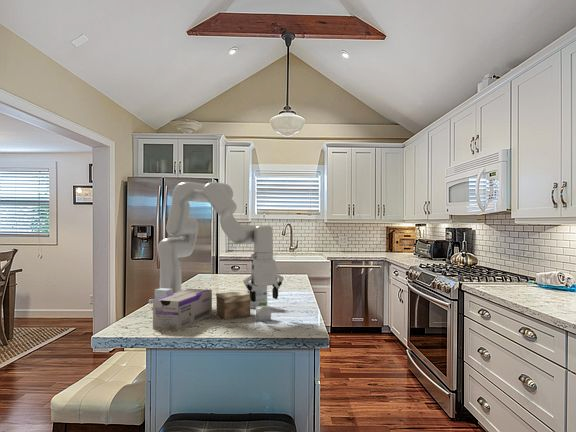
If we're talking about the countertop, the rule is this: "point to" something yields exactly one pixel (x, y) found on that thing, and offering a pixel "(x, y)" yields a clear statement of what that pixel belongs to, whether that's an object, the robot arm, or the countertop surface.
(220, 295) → the lid
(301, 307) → the countertop surface
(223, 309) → the crate
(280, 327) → the countertop surface
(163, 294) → the skincare box
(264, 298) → the ink box
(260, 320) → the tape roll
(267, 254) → the robot arm
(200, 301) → the surgical sutures box
